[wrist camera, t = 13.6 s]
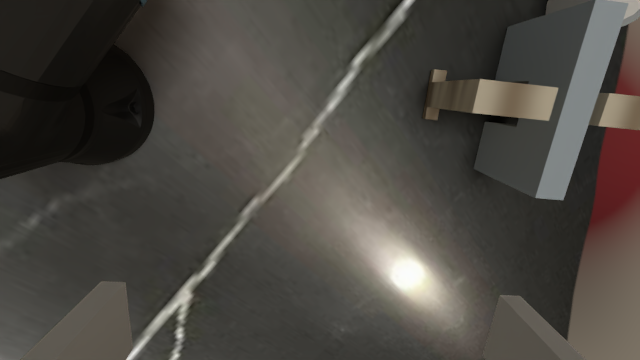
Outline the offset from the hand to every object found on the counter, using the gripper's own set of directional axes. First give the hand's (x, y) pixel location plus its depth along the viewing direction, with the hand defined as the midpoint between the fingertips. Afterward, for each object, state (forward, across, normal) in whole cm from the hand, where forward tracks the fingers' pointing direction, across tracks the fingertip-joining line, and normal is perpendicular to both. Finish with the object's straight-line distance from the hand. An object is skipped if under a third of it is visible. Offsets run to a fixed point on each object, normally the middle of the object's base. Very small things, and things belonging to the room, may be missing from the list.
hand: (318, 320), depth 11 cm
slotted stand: (+31, +25, +8) cm, 41 cm away
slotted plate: (+31, +25, +8) cm, 41 cm away
